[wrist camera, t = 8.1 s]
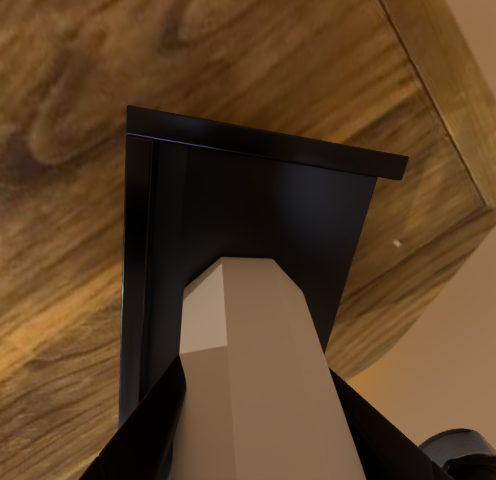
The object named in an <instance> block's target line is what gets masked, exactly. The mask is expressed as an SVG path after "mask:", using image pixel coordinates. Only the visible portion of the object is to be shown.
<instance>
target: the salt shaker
mask: <svg viewBox="0 0 496 480" xmlns="http://www.w3.org/2000/svg"><path fill="white" fill-rule="evenodd" d="M179 356H180V359H181V363H182V367H183V370H184V374H185V378H186V394H185V398H184V402H183V405H182V409H181V413H180V416H179V420H178V424H177V428H176V431H175V435H174V439H173V454H172V468H171V480H366V477H365V474H364V471H363V468H362V465H361V462H360V459H359V456H358V453H357V450H356V447H355V445H354V442H353V439H352V436H351V433H350V430H349V427H348V424H347V421H346V418H345V415H344V412H343V409H342V406H341V403H340V400H339V397H338V395H337V392H336V389H335V386H334V383H333V380H332V377H331V374H330V371H329V368H328V365H327V362H326V359H325V356H324V353H323V350H322V348H321V345H320V342H319V339H318V336H317V333H316V330H315V327H314V324H313V321H312V318H311V315H310V312H309V309H308V306H307V303H306V300H305V298H304V295H303V292H302V291H301V290H300V288H299V287H298V286H297V285H296V284H295V283H294V282H293V281H292V280H291V279H290V278H289V276H288V275H287V274H286V273H285V272H284V271H283V270H282V269H281V268H280V267H279V266H278V264H277V263H276V262H275V261H274V260H273V259H263V258H236V257H221V258H220V259H218V260H217V261H216V262H215V263H214V264H213V265H211V266H210V267H209V268H208V269H207V270H205V271H204V272H203V273H202V274H201V275H200V276H198V277H197V278H196V279H195V280H194V281H193V282H191V283H190V284H189V285H188V286H187V287H186V288H184V295H183V309H182V324H181V338H180V352H179Z"/></svg>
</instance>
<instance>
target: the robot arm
mask: <svg viewBox="0 0 496 480" xmlns="http://www.w3.org/2000/svg"><path fill="white" fill-rule="evenodd" d="M328 368H329V367H328ZM329 371H330V374H331V377H332V380H333V383H334V386H335V389H336V392H337V395H338V397H339V400H340V403H341V406H342V409H343V412H344V415H345V418H346V421H347V424H348V427H349V430H350V433H351V436H352V439H353V442H354V445H355V447H356V450H357V453H358V456H359V459H360V462H361V465H362V468H363V471H364V474H365V477H366V480H496V459H449V460H447V461H446V462H445V464H444V466H443V468H441V467H440V466H439V465H438V464H436V463H435V462H434V461H431V459H430V457H428V456H427V455H426V454H425V453H424V452H423V451H422V450H421V449H420V448H418V447H417V446H416V445H415V444H414V443H413V442H412V441H411V440H409V439H408V438H407V437H406V436H405V435H404V434H403V433H402V432H400V431H399V430H398V429H397V428H396V427H395V426H394V425H393V424H392V423H390V422H389V421H388V420H387V419H386V418H385V417H384V416H383V415H382V414H380V413H379V412H378V411H377V410H376V409H375V408H374V407H372V406H371V405H370V404H369V403H368V402H367V401H366V400H365V399H364V398H362V397H361V396H360V395H359V394H358V393H357V392H356V391H355V390H354V389H353V388H351V387H350V386H349V385H348V384H347V383H346V382H345V381H344V380H343V379H341V378H340V377H339V376H338V375H337V374H336V373H335V372H334V371H332V370H331V369H330V368H329ZM185 394H186V378H185V374H184V370H183V367H182V363H181V359H180V356H177V357H176V358H175V359H174V361H173V362H172V363H171V364H170V366H169V367H168V368H167V369H166V371H165V372H164V373H163V374H162V376H161V377H160V378H159V379H158V381H157V382H156V383H155V384H154V386H153V387H152V388H151V389H150V391H149V392H148V393H147V394H146V396H145V397H144V398H143V399H142V401H141V402H140V403H139V404H138V406H137V407H136V408H135V410H134V411H133V412H132V413H131V415H130V416H129V417H128V418H127V420H126V421H125V422H124V423H123V425H122V426H121V427H120V428H119V430H118V431H117V432H116V433H115V435H114V436H113V437H112V438H111V440H110V441H109V442H108V443H107V445H106V446H105V447H104V448H103V450H102V451H101V452H100V454H99V456H98V457H96V458H95V459H94V461H93V462H92V463H91V465H90V466H89V467H88V468H87V470H86V471H85V472H84V473H83V475H82V476H81V477H80V478H79V479H78V480H171V468H172V454H173V439H174V435H175V431H176V428H177V424H178V420H179V416H180V413H181V409H182V405H183V402H184V398H185Z"/></svg>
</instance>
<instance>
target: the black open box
mask: <svg viewBox="0 0 496 480" xmlns="http://www.w3.org/2000/svg"><path fill="white" fill-rule="evenodd" d="M126 133H127V134H128V135H127V136H126V159H125V197H124V235H123V273H122V311H121V349H120V387H119V425H118V430H119V428H120V427H121V426H122V425H123V423H124V422H125V421H126V420H127V418H128V417H129V416H130V415H131V413H132V412H133V411H134V410H135V408H136V407H137V406H138V404H139V403H140V402H141V401H142V399H143V398H144V397H145V396H146V394H147V393H148V392H149V391H150V389H151V388H152V387H153V386H154V384H155V383H156V382H157V381H158V379H159V378H160V377H161V376H162V374H163V373H164V372H165V371H166V369H167V368H168V367H169V366H170V364H171V363H172V362H173V361H174V359H175V358H176V357H177V356H179V352H180V338H181V324H182V309H183V295H184V288H186V287H187V286H188V285H189V284H190V283H191V282H193V281H194V280H195V279H196V278H197V277H198V276H200V275H201V274H202V273H203V272H204V271H205V270H207V269H208V268H209V267H210V266H211V265H213V264H214V263H215V262H216V261H217V260H218V259H220V258H221V257H236V258H263V259H273V260H274V261H275V262H276V263H277V264H278V266H279V267H280V268H281V269H282V270H283V271H284V272H285V273H286V274H287V275H288V276H289V278H290V279H291V280H292V281H293V282H294V283H295V284H296V285H297V286H298V287H299V288H300V290H301V291H302V292H303V295H304V298H305V300H306V303H307V306H308V309H309V312H310V315H311V318H312V321H313V324H314V327H315V330H316V333H317V336H318V339H319V342H320V345H321V348H322V350H323V353H324V354H325V350H326V347H327V344H328V340H329V337H330V334H331V330H332V327H333V324H334V320H335V317H336V314H337V310H338V307H339V304H340V300H341V297H342V294H343V290H344V287H345V284H346V280H347V277H348V274H349V270H350V267H351V264H352V261H353V257H354V254H355V251H356V247H357V244H358V241H359V237H360V234H361V231H362V227H363V224H364V221H365V217H366V214H367V211H368V207H369V204H370V201H371V197H372V194H373V191H374V187H375V184H376V181H377V177H382V178H387V179H393V180H399V181H400V180H402V178H403V175H404V172H405V169H406V166H407V163H408V160H409V157H408V156H403V155H397V154H392V153H386V152H381V151H375V150H370V149H364V148H359V147H354V146H348V145H343V144H337V143H332V142H326V141H321V140H316V139H310V138H305V137H299V136H294V135H288V134H283V133H277V132H272V131H267V130H261V129H256V128H250V127H245V126H239V125H234V124H229V123H223V122H218V121H212V120H207V119H201V118H196V117H190V116H185V115H180V114H174V113H169V112H163V111H158V110H152V109H147V108H142V107H136V106H131V105H128V106H127V118H126Z"/></svg>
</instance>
